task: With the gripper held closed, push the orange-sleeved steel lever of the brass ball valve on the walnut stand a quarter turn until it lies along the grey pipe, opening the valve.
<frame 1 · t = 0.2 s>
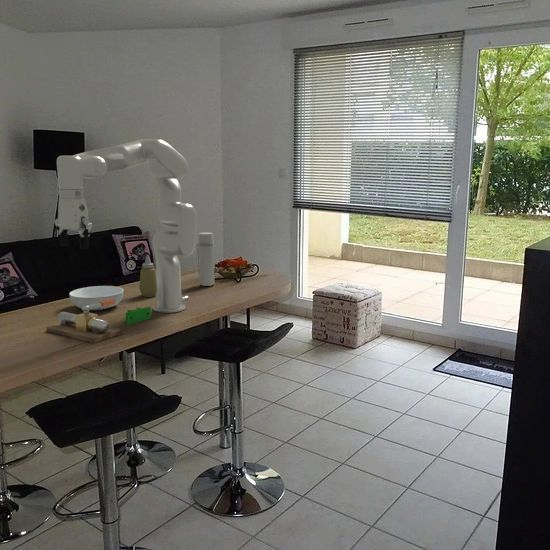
hand: (74, 247, 189), 30 cm above the breakfast bar, tool pointing down, fingers open, 9 cm apart
pipe clamp: (137, 321, 215), on the breakfast bar
valve lever: (98, 306, 202), point 8 cm above the breakfast bar, hinge at 0.0°
serving bowl: (97, 308, 234), on the breakfast bar
water bottle: (205, 286, 275), on the breakfast bar
squeeze bottle: (149, 296, 254), on the breakfast bar
valve stand: (83, 332, 200), on the breakfast bar
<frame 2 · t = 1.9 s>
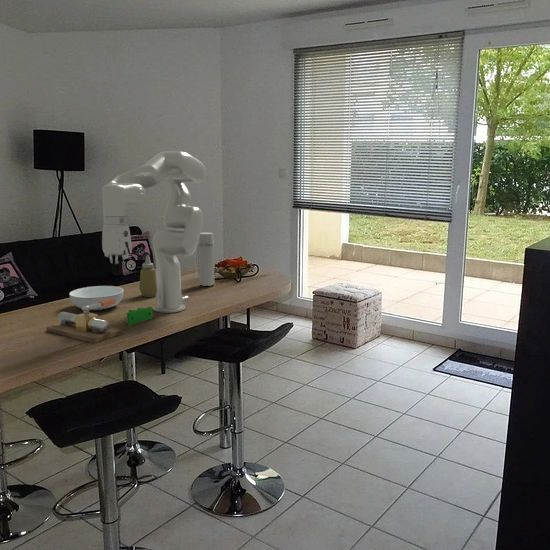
hand: (117, 274, 199), 20 cm above the breakfast bar, tool pointing down, fingers closed
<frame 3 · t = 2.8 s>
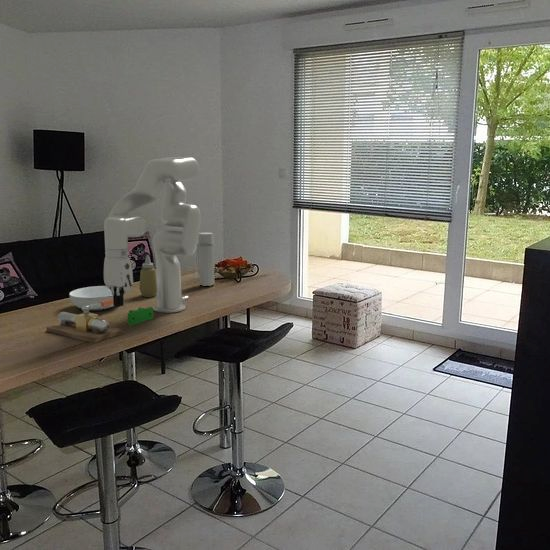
hand: (118, 305, 201), 9 cm above the breakfast bar, tool pointing down, fingers closed
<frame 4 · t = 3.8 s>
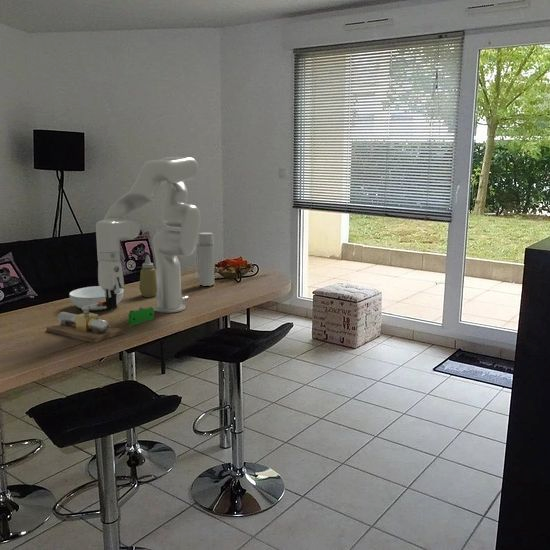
hand: (111, 307, 204), 8 cm above the breakfast bar, tool pointing down, fingers closed
valve lever: (97, 306, 202), point 8 cm above the breakfast bar, hinge at 3.4°, touching gripper
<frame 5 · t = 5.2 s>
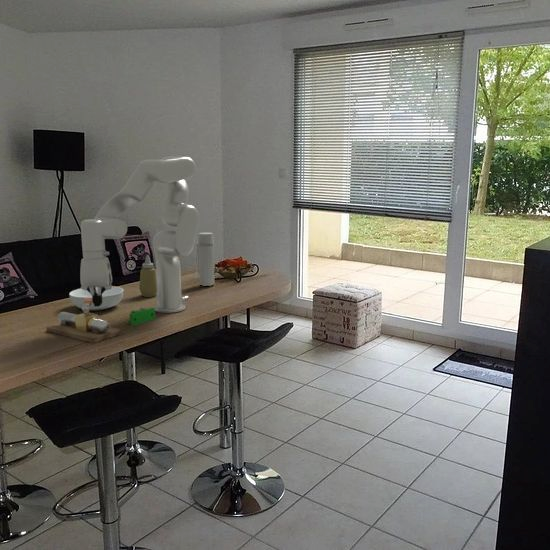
hand: (97, 305, 207), 8 cm above the breakfast bar, tool pointing down, fingers closed
valve lever: (87, 306, 203), point 8 cm above the breakfast bar, hinge at 45.2°, touching gripper
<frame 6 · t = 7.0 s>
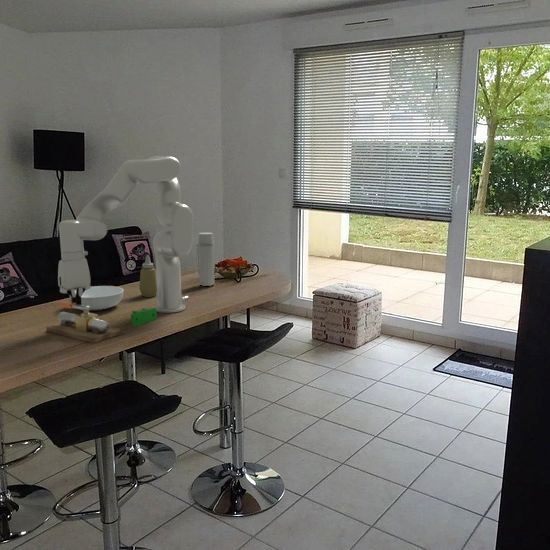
hand: (76, 307, 205), 7 cm above the breakfast bar, tool pointing down, fingers closed
valve lever: (75, 307, 200), point 8 cm above the breakfast bar, hinge at 91.7°, touching gripper
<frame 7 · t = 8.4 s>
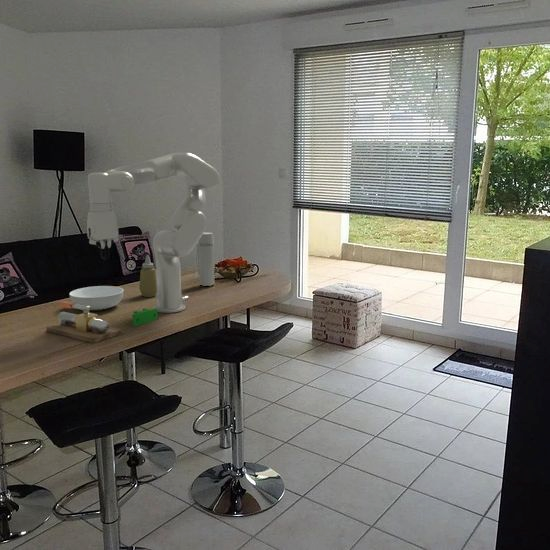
hand: (105, 258, 209), 24 cm above the breakfast bar, tool pointing down, fingers closed
valve lever: (75, 307, 200), point 8 cm above the breakfast bar, hinge at 91.7°
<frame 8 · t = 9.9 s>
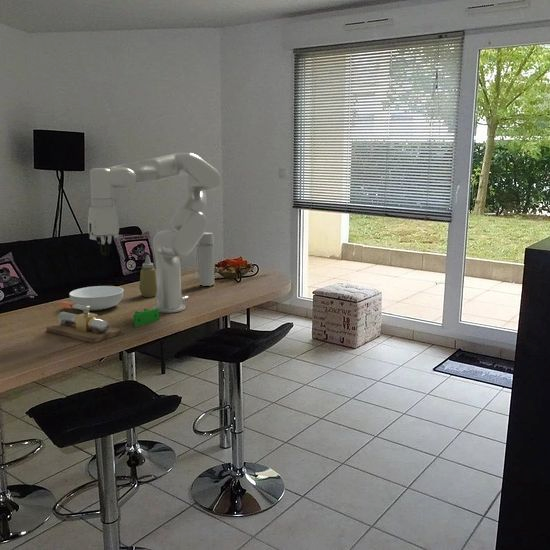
hand: (105, 254, 208), 25 cm above the breakfast bar, tool pointing down, fingers closed
at the end: valve lever at +92° (first picture: +0°) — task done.
